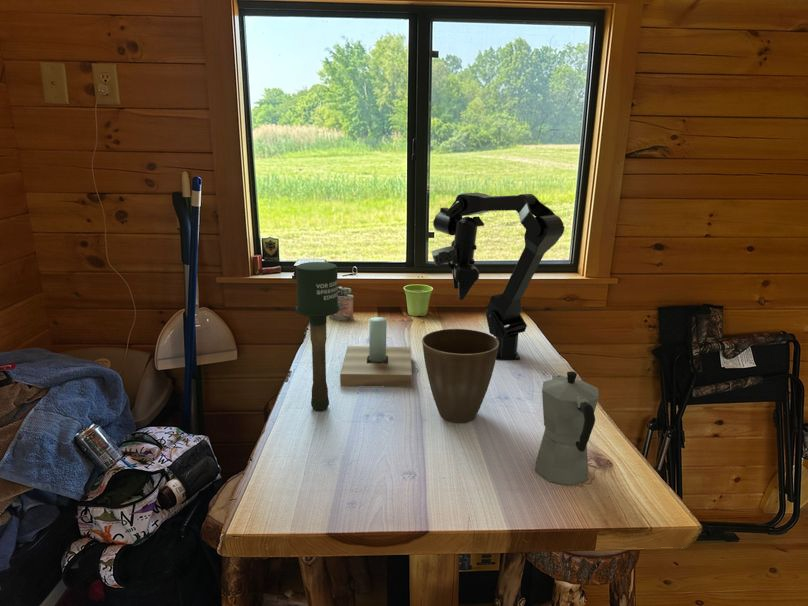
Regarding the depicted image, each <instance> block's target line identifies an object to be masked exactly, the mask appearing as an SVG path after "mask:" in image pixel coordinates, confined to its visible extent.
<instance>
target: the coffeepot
mask: <svg viewBox="0 0 808 606" xmlns="http://www.w3.org/2000/svg"><path fill="white" fill-rule="evenodd" d="M577 376H578V372H576V371H572V370H571V371H567V372H566V376H565V375H559V374H558V375H556V376H555V375H551V379H547V380H543V382H542V383H543V384H542V389H541V394H542V395H541V397H542V410H543V411H542V414H543V415H542V416H543V425H544V431H543V436H542V439H541V442H540V444H539V445H540V446H539V449H538V453H537V457H536V460H535V468H534V471H535V472H536V473H538V475H539V476H540V477H541V478H543V479H544V480H546V481H549V482H550V483H553V484H557V485H562V486H574V485H575V486H577V485H580V484H583V483H584V482H586V481H588V480H589V463H588V462H589V461H588V446H587V445H588V443H589V442H590V441H589V440H590V438H591V434H592V432H593V429H594V426H595V424H596V415H595V410H596V408H597V405H598V402H599V398H600V397H599V396H600V395H599V388H598V387H596V386H594V385H591V384H590V383H588V382H586V381H583V380H580V379H576V378H577Z"/></svg>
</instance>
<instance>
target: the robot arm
mask: <svg viewBox="0 0 808 606" xmlns="http://www.w3.org/2000/svg"><path fill="white" fill-rule="evenodd" d="M439 210H440V211H439V212H438V213H436V215H435V217H434V219H433V223H432V224H433V228H434V230H436V231H438V232H440V233H443V234H447V235H449V236H454V240H452V241H451V245H450V246H449V245H448V246H444V247H440V248H437V249H435V250H432V251H431V255H432V259H433V263H434V265H435V266H436V267H439V266H441V265H444V264H447V265H448V267H449V268H450V269H451V271H452V272H451V273H452V274H451V275H452V282H453V284H452V285H453V288H454V290H455V289H456V290H458V299H459V301H461V300H462V301H463V300H464V299H465V298H466V297H467V295H468V293H469V291H470V290H471V288H472V287H473V286H474V284H475V283H476V282H477V281H479V279H480V272H479V270H478V268H477V267H476V266H475V263H476V262H475V259H474V257H475V256H474V255H475V251H476V250H477V245H476V239H477V232H478V227H484V226H485V223H484V222H483V220H482V219H481V217H480V216H473V217H470V216H472V215H480V214H483V213H488V212H491V211H493V212H494V211H495V212H499V211H500V212H501V211H516V212H517V213H518V218H519V221H520V224H521V226H523V228H524V229H525V232H524V237H523V238H524V248H523V250H522V253H520V256H519V259H518V261H517V263H516V265H515V267H514V269H513V271H512V274H511V275H510V277H509V279H508V281H507V284H506V286H505V287H504V289H503V292H502V293H499V294H494V295H492V296H491V297H490V298H489V303H488V305H487V306H486V307H485V309H486V312H485V317H486V322H487V326H488V327H487V328H488V331H489V335H492V336H493V337H495V338H496V339H497V340H498V342H499V346H498V351H497V356H496V360H520V359H521V356H520V354H519V352H518V345H519V344H518V343H519V334H521V333H525V332H526V329H527V327H528V324H527V323H526V322H525V320H524V318H523V317H522V315H521V311H522V308H523V306H522V298H523V296H524V294H525V292H526V290H527V288H528V286H529V285H530V283H531V281H532V278H533V276H534V275H535V272H536V270H537V268H538V267H539V265H540V263H541V261H542V259H543V258H544V256H545V254H546V253H547V252H548V251H549V250H551V248H553V247H554V245H556V244H557V242H558V241H559V240H560V239H561V237H562V236H563V234H564V231H565V226H564V222H563V220H562V218H560V216H558V215H557V214H556V213H555V212H554V211H553V210H552V209H551V208H549V207H548V206H546V205H545V204H543V203H542V202H541V201H540V200H539V198H537V196H535V195H534V194H532V193H521V194H517V195H516V194H515V195H514V194H513V195H488V194H486V193H481V192H462V193H458V194H457V195H456V197H455V199H454V201H453V203H452V204H451V206H450V207H440V208H439ZM463 216H464V217H463Z"/></svg>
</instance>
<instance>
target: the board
mask: <svg viewBox="0 0 808 606" xmlns="http://www.w3.org/2000/svg"><path fill="white" fill-rule="evenodd" d="M411 352H412V349H411V346H386V357H387V360H386V361H385V362H384V364H377V363H371V362H370V361H369V345H366V346H364V345H362V346H361V345H353V346H352V345H347V346H346V350H345V355H344V357H343V362H342V365H341V369H340V373H339V384H340V385H339V387H358V386H379V387H378V388H381V387H380V386H384V387H383V388H412V381H413V380H412V379H413V376H412V375H413V374H412V373H413V372H412V353H411Z"/></svg>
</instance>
